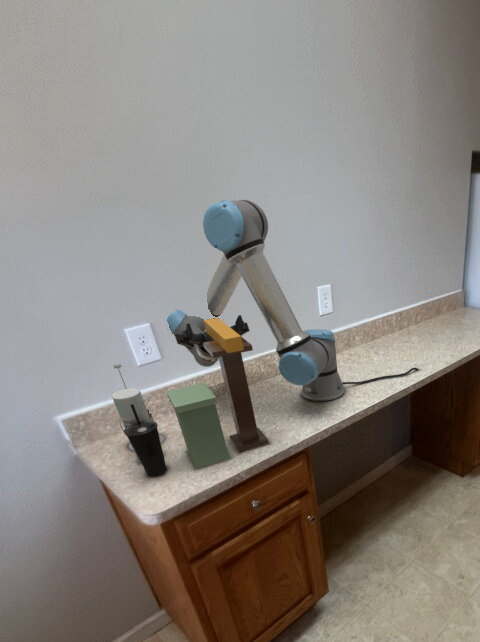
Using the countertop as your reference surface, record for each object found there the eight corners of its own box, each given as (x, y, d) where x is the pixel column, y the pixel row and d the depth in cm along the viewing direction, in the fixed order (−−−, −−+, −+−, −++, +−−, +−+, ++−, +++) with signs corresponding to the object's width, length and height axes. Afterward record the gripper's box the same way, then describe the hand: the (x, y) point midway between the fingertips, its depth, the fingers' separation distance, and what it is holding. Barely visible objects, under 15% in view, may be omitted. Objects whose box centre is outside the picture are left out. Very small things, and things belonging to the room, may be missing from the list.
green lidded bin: (232, 459, 117) (216, 397, 107) (194, 470, 112) (174, 407, 102) (220, 441, 125) (205, 382, 115) (185, 451, 121) (166, 391, 111)
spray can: (133, 464, 115) (106, 399, 105) (144, 452, 121) (119, 388, 110) (157, 463, 116) (132, 398, 105) (166, 451, 121) (144, 387, 110)
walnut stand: (271, 443, 123) (251, 344, 107) (237, 454, 119) (212, 352, 103) (260, 430, 130) (240, 335, 115) (227, 439, 126) (202, 342, 110)
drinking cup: (178, 464, 115) (155, 398, 105) (162, 480, 109) (137, 412, 98) (152, 463, 116) (126, 397, 105) (135, 479, 109) (106, 411, 99)
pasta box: (243, 350, 104) (241, 336, 102) (227, 353, 102) (224, 339, 100) (220, 330, 120) (217, 317, 118) (206, 332, 118) (203, 320, 116)
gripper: (252, 349, 137) (265, 329, 119) (171, 365, 126) (171, 346, 107) (244, 326, 137) (256, 303, 118) (162, 341, 125) (161, 318, 107)
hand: (216, 324), depth 113 cm, fingers open, 13 cm apart
